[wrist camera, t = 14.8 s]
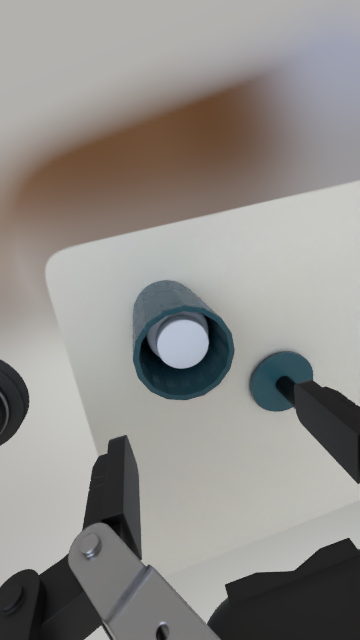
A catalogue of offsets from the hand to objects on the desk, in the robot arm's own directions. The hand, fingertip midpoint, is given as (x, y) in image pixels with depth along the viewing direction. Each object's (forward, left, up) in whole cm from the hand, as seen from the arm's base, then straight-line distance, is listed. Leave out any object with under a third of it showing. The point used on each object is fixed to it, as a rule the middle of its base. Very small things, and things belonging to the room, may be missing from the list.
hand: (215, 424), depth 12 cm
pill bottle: (0, 0, -18) cm, 18 cm away
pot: (0, 0, -19) cm, 19 cm away
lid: (+12, -12, -18) cm, 25 cm away
